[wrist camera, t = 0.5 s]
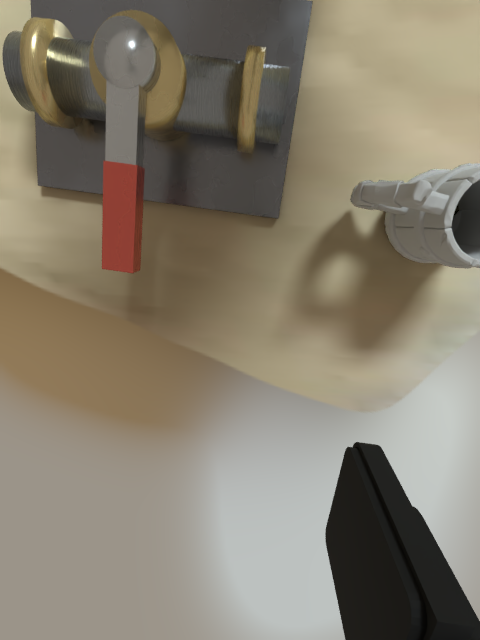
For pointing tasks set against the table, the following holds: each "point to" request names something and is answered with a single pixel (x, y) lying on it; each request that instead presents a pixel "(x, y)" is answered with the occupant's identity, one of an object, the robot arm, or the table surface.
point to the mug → (430, 214)
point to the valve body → (170, 96)
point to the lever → (124, 135)
